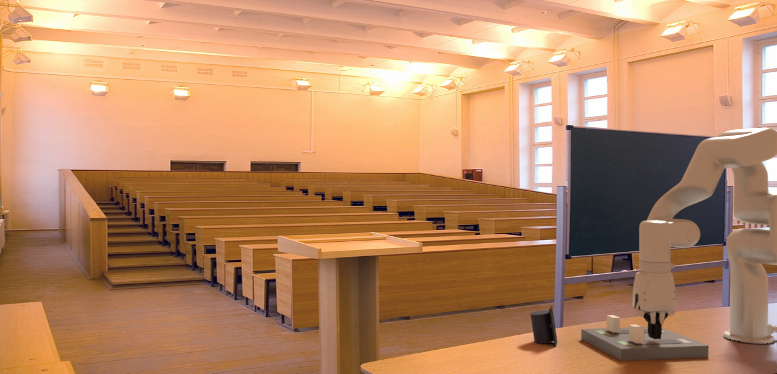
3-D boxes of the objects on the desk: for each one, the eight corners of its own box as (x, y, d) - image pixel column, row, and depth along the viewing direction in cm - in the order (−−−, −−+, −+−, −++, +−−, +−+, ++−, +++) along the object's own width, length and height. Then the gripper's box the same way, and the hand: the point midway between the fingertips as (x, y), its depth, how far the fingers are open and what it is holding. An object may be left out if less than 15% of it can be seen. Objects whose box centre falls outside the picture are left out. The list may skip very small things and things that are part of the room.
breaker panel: (659, 336, 186) (659, 326, 185) (708, 357, 164) (708, 345, 164) (581, 339, 182) (581, 328, 182) (621, 360, 160) (621, 348, 160)
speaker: (564, 341, 178) (560, 304, 178) (555, 347, 174) (551, 308, 174) (539, 340, 183) (535, 304, 183) (530, 345, 178) (526, 308, 179)
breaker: (613, 329, 180) (613, 315, 180) (619, 332, 176) (619, 317, 176) (606, 329, 180) (606, 315, 180) (613, 332, 176) (613, 318, 176)
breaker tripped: (636, 339, 168) (636, 324, 168) (643, 343, 164) (643, 327, 164) (628, 339, 168) (629, 324, 168) (636, 343, 164) (636, 327, 164)
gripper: (672, 265, 172) (672, 333, 172) (620, 266, 169) (620, 335, 170) (689, 269, 164) (689, 340, 164) (635, 270, 162) (635, 342, 162)
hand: (654, 337), depth 167 cm, fingers closed
